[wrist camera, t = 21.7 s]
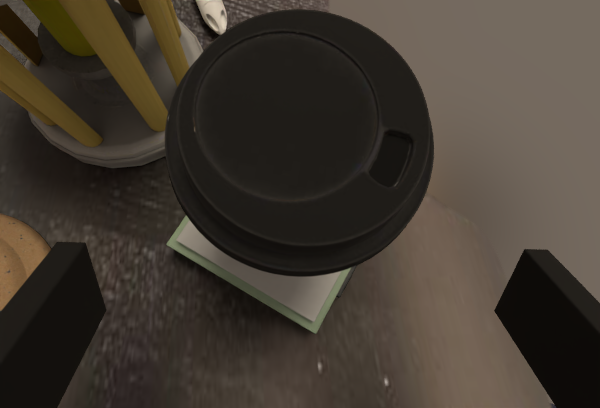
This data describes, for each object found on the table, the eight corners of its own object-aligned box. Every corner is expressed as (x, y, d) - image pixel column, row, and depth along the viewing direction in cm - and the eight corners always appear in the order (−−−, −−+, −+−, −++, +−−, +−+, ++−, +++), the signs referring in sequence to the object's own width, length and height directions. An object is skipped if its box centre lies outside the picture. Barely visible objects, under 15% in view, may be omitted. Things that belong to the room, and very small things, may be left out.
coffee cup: (356, 278, 25) (478, 265, 11) (217, 286, 24) (142, 284, 10) (345, 148, 27) (433, -10, 13) (215, 151, 26) (152, -15, 12)
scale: (387, 199, 30) (401, 188, 27) (316, 333, 27) (322, 339, 24) (257, 124, 31) (256, 104, 28) (174, 248, 28) (162, 243, 25)
